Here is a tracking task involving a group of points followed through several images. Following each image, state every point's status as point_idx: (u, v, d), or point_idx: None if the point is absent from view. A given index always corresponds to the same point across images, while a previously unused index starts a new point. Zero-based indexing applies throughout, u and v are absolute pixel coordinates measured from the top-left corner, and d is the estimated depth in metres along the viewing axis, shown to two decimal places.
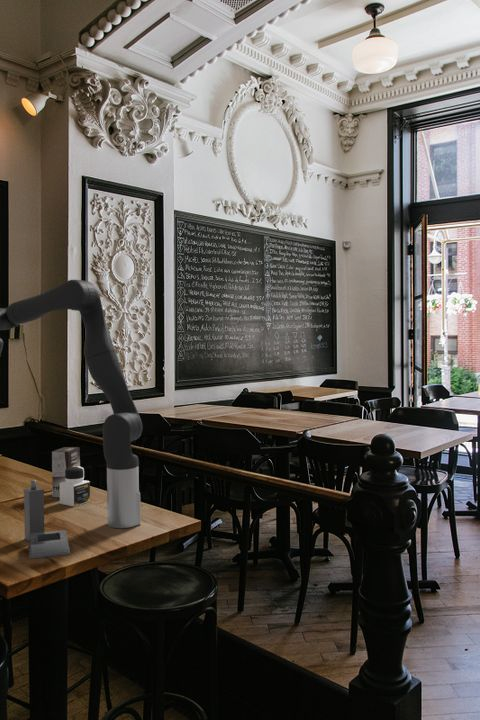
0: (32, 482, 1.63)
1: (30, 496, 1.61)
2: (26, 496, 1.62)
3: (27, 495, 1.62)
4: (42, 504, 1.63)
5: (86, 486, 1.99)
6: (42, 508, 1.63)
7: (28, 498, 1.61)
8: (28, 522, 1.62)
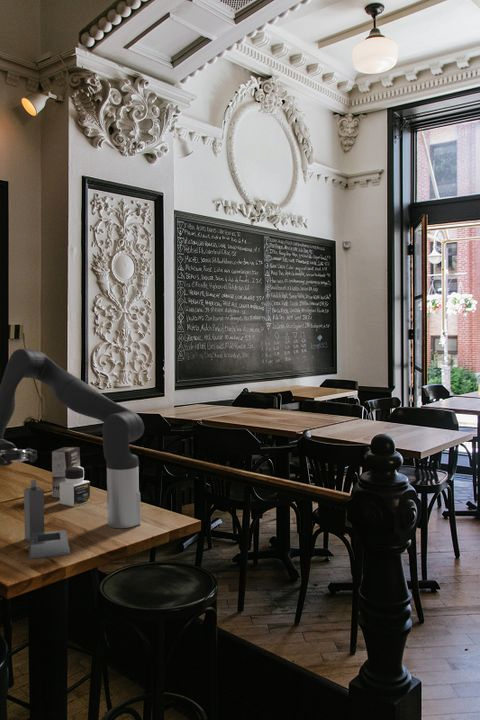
0: (32, 482, 1.63)
1: (30, 496, 1.61)
2: (26, 496, 1.62)
3: (27, 495, 1.62)
4: (42, 504, 1.63)
5: (87, 486, 1.99)
6: (42, 508, 1.63)
7: (28, 498, 1.61)
8: (28, 522, 1.62)
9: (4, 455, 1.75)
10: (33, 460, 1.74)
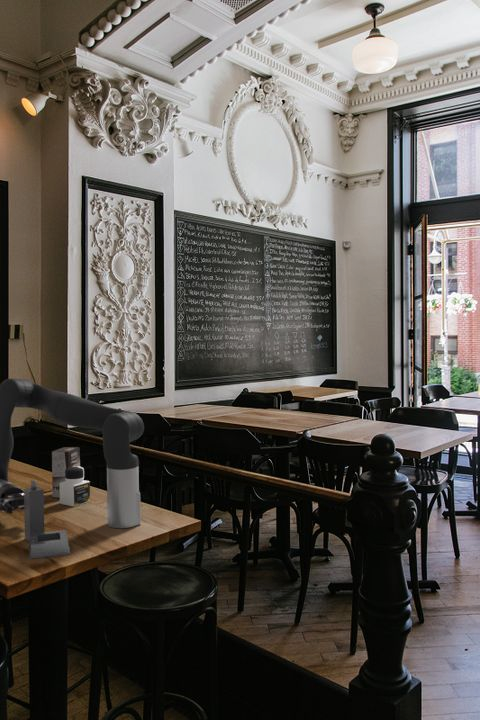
0: (32, 482, 1.63)
1: (30, 496, 1.61)
2: (26, 496, 1.62)
3: (27, 495, 1.62)
4: (42, 504, 1.63)
5: (86, 486, 1.99)
6: (42, 508, 1.63)
7: (28, 498, 1.61)
8: (28, 522, 1.62)
9: (11, 501, 1.72)
10: None
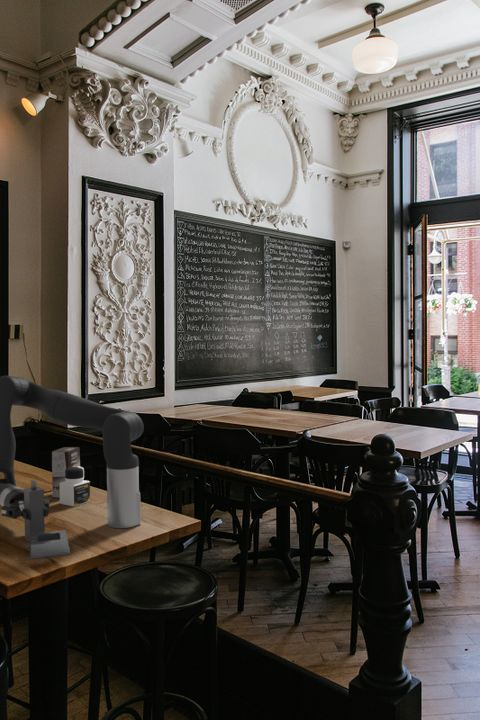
0: (32, 482, 1.63)
1: (30, 496, 1.61)
2: (26, 496, 1.62)
3: (27, 495, 1.62)
4: (42, 504, 1.63)
5: (87, 486, 1.99)
6: (42, 508, 1.63)
7: (28, 498, 1.61)
8: (28, 522, 1.62)
9: None
10: (46, 514, 1.63)
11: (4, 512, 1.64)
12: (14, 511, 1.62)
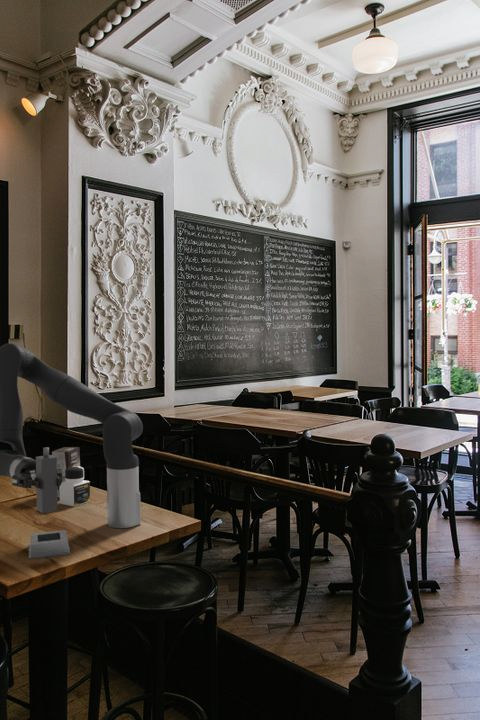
0: (44, 450, 1.55)
1: (42, 464, 1.53)
2: (38, 464, 1.54)
3: (39, 463, 1.54)
4: (55, 473, 1.55)
5: (87, 486, 1.99)
6: (55, 477, 1.55)
7: (40, 466, 1.53)
8: (40, 491, 1.54)
9: None
10: (59, 484, 1.55)
11: (15, 481, 1.56)
12: (25, 480, 1.54)
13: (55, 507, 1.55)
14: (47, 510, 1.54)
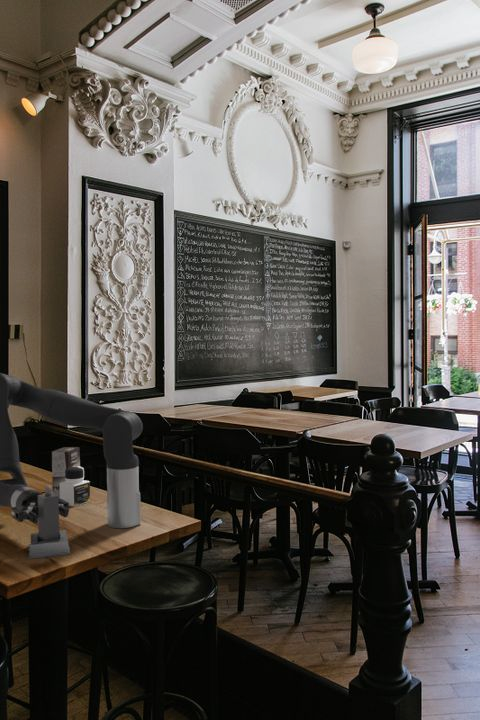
0: (46, 488, 1.55)
1: (44, 503, 1.53)
2: (40, 503, 1.54)
3: (41, 502, 1.54)
4: (57, 511, 1.55)
5: (87, 486, 1.99)
6: (57, 515, 1.55)
7: (42, 505, 1.53)
8: (42, 530, 1.54)
9: (35, 509, 1.58)
10: (66, 515, 1.56)
11: (13, 514, 1.56)
12: (19, 514, 1.53)
13: None
14: None
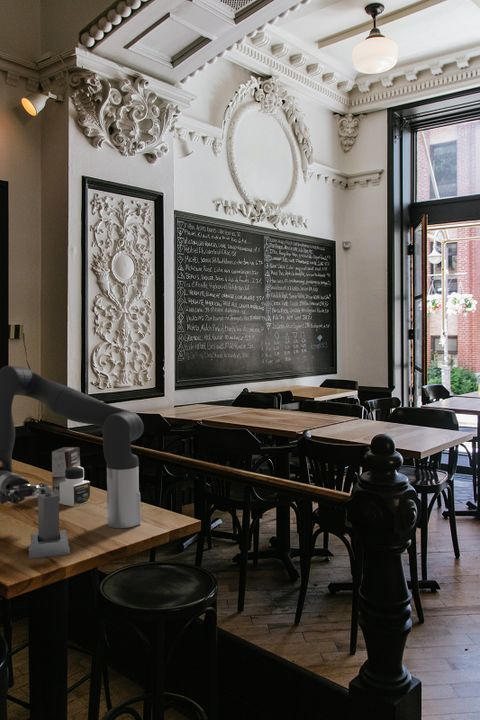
0: (46, 488, 1.55)
1: (44, 503, 1.53)
2: (40, 503, 1.54)
3: (41, 502, 1.54)
4: (57, 511, 1.55)
5: (87, 486, 1.99)
6: (57, 515, 1.55)
7: (42, 505, 1.53)
8: (42, 530, 1.54)
9: (17, 492, 1.68)
10: None
11: None
12: (1, 496, 1.64)
13: None
14: None
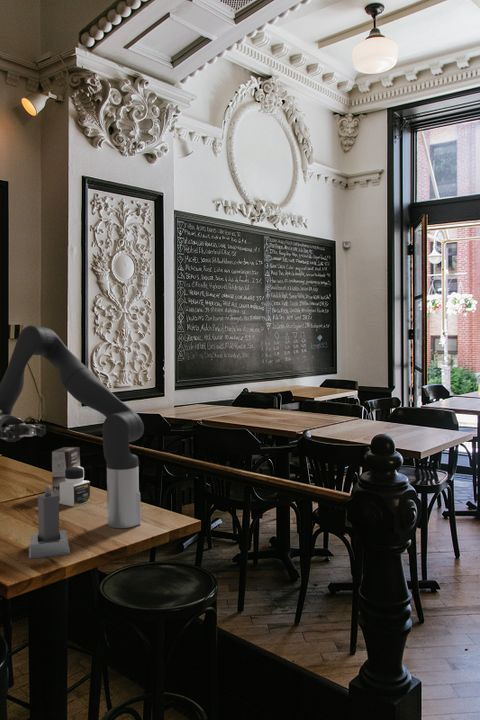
0: (46, 488, 1.55)
1: (44, 503, 1.53)
2: (40, 503, 1.54)
3: (41, 502, 1.54)
4: (57, 511, 1.55)
5: (87, 486, 1.99)
6: (57, 515, 1.55)
7: (42, 505, 1.53)
8: (42, 530, 1.54)
9: (12, 429, 1.73)
10: (42, 434, 1.72)
11: None
12: None
13: None
14: None
